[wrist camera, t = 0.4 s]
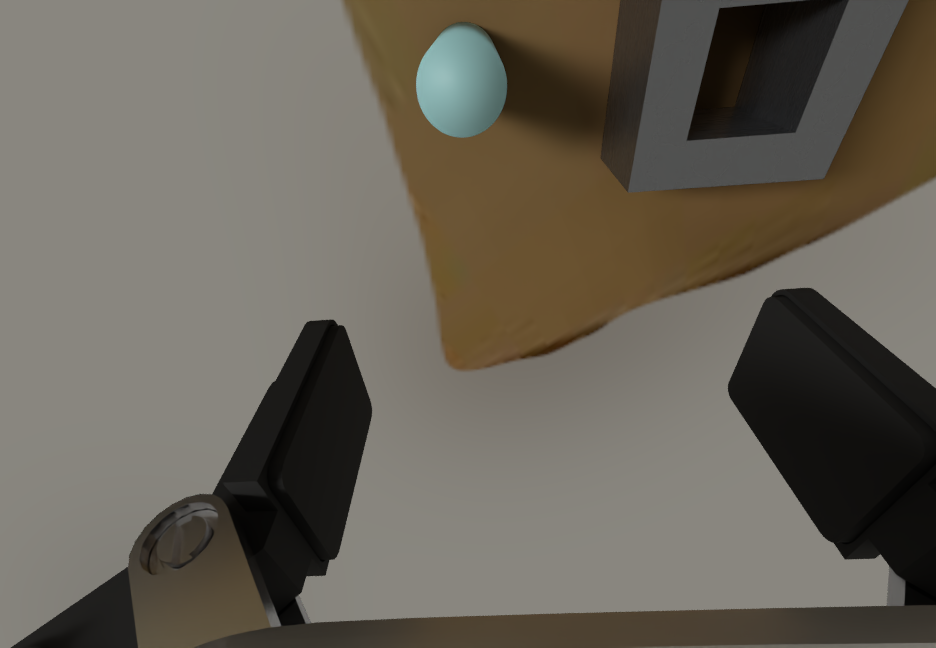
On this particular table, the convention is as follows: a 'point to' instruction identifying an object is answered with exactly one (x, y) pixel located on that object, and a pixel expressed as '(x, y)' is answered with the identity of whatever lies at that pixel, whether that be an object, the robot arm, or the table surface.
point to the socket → (760, 97)
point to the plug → (462, 81)
